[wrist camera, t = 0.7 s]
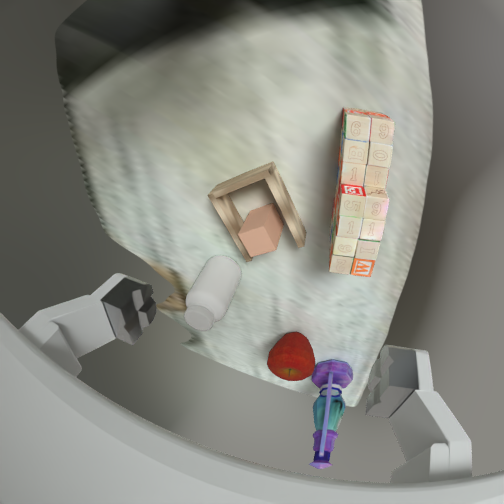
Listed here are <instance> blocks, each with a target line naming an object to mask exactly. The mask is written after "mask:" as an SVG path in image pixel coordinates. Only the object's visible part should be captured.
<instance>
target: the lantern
mask: <svg viewBox="0 0 504 504" xmlns="http://www.w3.org/2000/svg"><path fill="white" fill-rule="evenodd" d="M352 380H353V372H352V369H351V367H350V366H349V365H348V364H347V363H346V362H341V361H336V360H329V361H325V362H321V363H318V364H317V366H316V367H315V369H314V371H313V374H312V382H313V383H314V384H315V385H316V386H317V387H319V388H320V390H321V391H320V396H319V397H318V398H317V400H316V401H315V402H314V404H313V412H314V423H315V428H316V432H315V433H314V434H313V437H314V440H315V441H314V447H313V449H314V451H315V456H314V461H313V462H312V463H310V465H311V466H313V467H315V468H318V469H323V468H326V467H329V466H331V465H332V464H330V463H329V458H330V452H331V451H333V449H334V441H335V439H336V438H337V437H338V434H337V433H336V432H335V431H336V430H337V428H338V426H339V424H340V421H341V419H342V416H343V413H344V410H345V406H346V404H345V401H344V400H343V398H342V396H341V394H342V391H341V390H342V388H346V387H347V385H348V384H349V383H350V382H351V381H352Z"/></svg>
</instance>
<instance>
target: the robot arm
mask: <svg viewBox="0 0 504 504" xmlns="http://www.w3.org/2000/svg"><path fill="white" fill-rule="evenodd" d="M152 294H153V289H152V285H150V284H148V283H145V282H143V281H140V280H137V279H135V278H132V277H129V276H126V275H124V274H121V273H116V274H114V275H113V276H112V277H111V278H110V279H108V280H107V281H106V282H105V283H104V284H103V285H102V286H101V287H99V288H98V289H97V290H96V291H95V292H94V293H93V294H92V295H90V296H89V295H86V296H82V297H79V298H77V299H73V300H70V301H67V302H64V303H61V304H58V305H55V306H52V307H49V308H46V309H43V310H40V311H38V312H37V313H36V314H35V315H34V316H33V317H32V318H31V319H30V320H28V321H27V322H26V323H25V324H24V325H23V326H22V327H21V328H20V329H19V330H17V329H16V328H15V327H14V326H13V325H12V324H11V323H10V322H9V321H8V320H7V319H6V318H5V317H4V316H3V315H2V314H1V313H0V504H504V470H502V471H498V472H494V473H490V474H485V475H480V476H474V477H472V452H471V440H470V439H469V437H468V436H467V434H466V433H465V431H464V430H463V428H462V427H461V425H460V424H459V422H458V421H457V420H456V418H455V416H454V415H453V414H452V412H451V411H450V409H449V408H448V406H447V405H446V404H445V402H444V401H443V399H442V398H441V397H440V395H439V394H438V392H434V391H433V382H432V374H431V367H430V360H429V354H428V352H427V351H424V350H417V349H410V348H403V347H398V346H392V345H385V346H384V347H383V349H382V351H381V358H380V359H378V360H376V361H375V363H374V364H373V366H372V369H371V372H370V375H369V380H368V388H369V390H370V391H371V393H370V395H369V396H368V398H367V405H366V415H369V416H375V417H382V418H389V419H388V420H389V423H390V425H391V427H392V429H393V432H394V434H395V436H396V438H397V441H398V443H399V445H400V447H401V450H402V452H403V454H404V457H405V459H406V461H407V462H406V463H404V464H403V465H401V466H399V467H398V468H396V469H395V470H394V471H392V475H391V481H390V483H375V482H374V483H373V482H359V481H348V480H338V479H331V478H324V477H317V476H311V475H306V474H300V473H295V472H290V471H286V470H281V469H277V468H273V467H269V466H265V465H261V464H257V463H254V462H251V461H247V460H244V459H240V458H237V457H234V456H231V455H228V454H225V453H222V452H219V451H217V450H214V449H211V448H208V447H205V446H203V445H201V444H198V443H196V442H193V441H191V440H188V439H185V438H183V437H181V436H179V435H176V434H174V433H172V432H169V431H168V430H166V429H163V428H161V427H159V426H157V425H155V424H153V423H151V422H149V421H147V420H145V419H143V418H141V417H140V416H137V415H136V414H134V413H132V412H130V411H128V410H127V409H125V408H123V407H121V406H120V405H118V404H116V403H115V402H113V401H111V400H110V399H108V398H106V397H105V396H103V395H101V394H100V393H98V392H97V391H95V390H94V389H92V388H90V387H89V386H88V385H86V384H85V383H83V382H82V381H80V380H79V379H77V378H76V376H77V375H78V374H79V373H80V371H81V370H82V369H81V368H82V367H81V365H80V363H79V362H78V360H77V359H76V358H78V357H80V356H82V355H84V354H86V353H88V352H90V351H92V350H94V349H96V348H98V347H100V346H102V345H104V344H106V343H108V342H110V341H112V340H114V339H115V337H116V338H118V339H121V340H122V341H125V342H127V343H129V344H131V345H133V344H134V343H135V342H136V341H137V340H138V338H139V337H140V336H141V335H142V333H143V328H144V327H146V326H149V325H150V324H151V322H152V321H153V319H154V317H155V314H156V302H155V301H154V299H153V298H152V297H151V296H152Z"/></svg>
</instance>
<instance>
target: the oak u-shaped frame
mask: <svg viewBox="0 0 504 504" xmlns="http://www.w3.org/2000/svg"><path fill="white" fill-rule="evenodd" d="M262 179H265V180H266V182H267V184H268V186H269V188H270V190H271V192H272V194H273V196H274V198H275V200H276V202H277V204H278V206H279V208H280V210H281V212H282V214H283V216H284V218H285V220H286V222H287V224H288V227H289V229H290V231H291V233H292V235H293V237H294V239H295V241H296V243H297V246H298V248H300V247H304V244H305V238H306V230H305V228H304V226H303V224H302V221H301V219H300V217H299V215H298V213H297V210H296V208H295V206H294V204H293V202H292V200H291V197H290V195H289V193H288V191H287V189H286V187H285V185H284V182H283V180H282V178H281V176H280V174H279V172H278V170H277V168H276V166H275V164H274V162H271V163H268V164H266V165H263V166H261V167H258V168H256V169H253V170H251V171H248V172H246V173H244V174H241V175H239V176H236V177H234V178H232V179H229V180H227V181H225V182H222V183H220V184H218V185H217V186H216V187H215V188H214V189H213V190H212V191H211V192H210V193H209V194H208V197H209V199H210V200H211V202H212V204H213V205H214V207H215V209H216V211H217V212H218V214H219V216H220V217H221V219H222V221H223V222H224V224H225V226H226V228H227V229H228V231H229V233H230V234H231V236H232V238H233V240H234V241H235V243H236V245H237V246H238V248H239V250H240V251H241V253H242V255H243V257H244V258H245V260H246V262H249V261H252V258H253V257H251V256H250V255H249V253H248V251H247V249H246V248H245V246H244V244H243V242H242V241H241V239H240V237H239V235H238V233H239V231H240V229H241V228H242V226H243V224H244V222H243V220H242V218H241V216H240V215H239V213H238V211H237V209H236V207H235V206H234V204H233V202H232V200H231V198H230V197H229V195H228V193H230V192H232V191H234V190H237V189H239V188H242V187H244V186H247V185H249V184H252V183H255V182H257V181H260V180H262Z"/></svg>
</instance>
